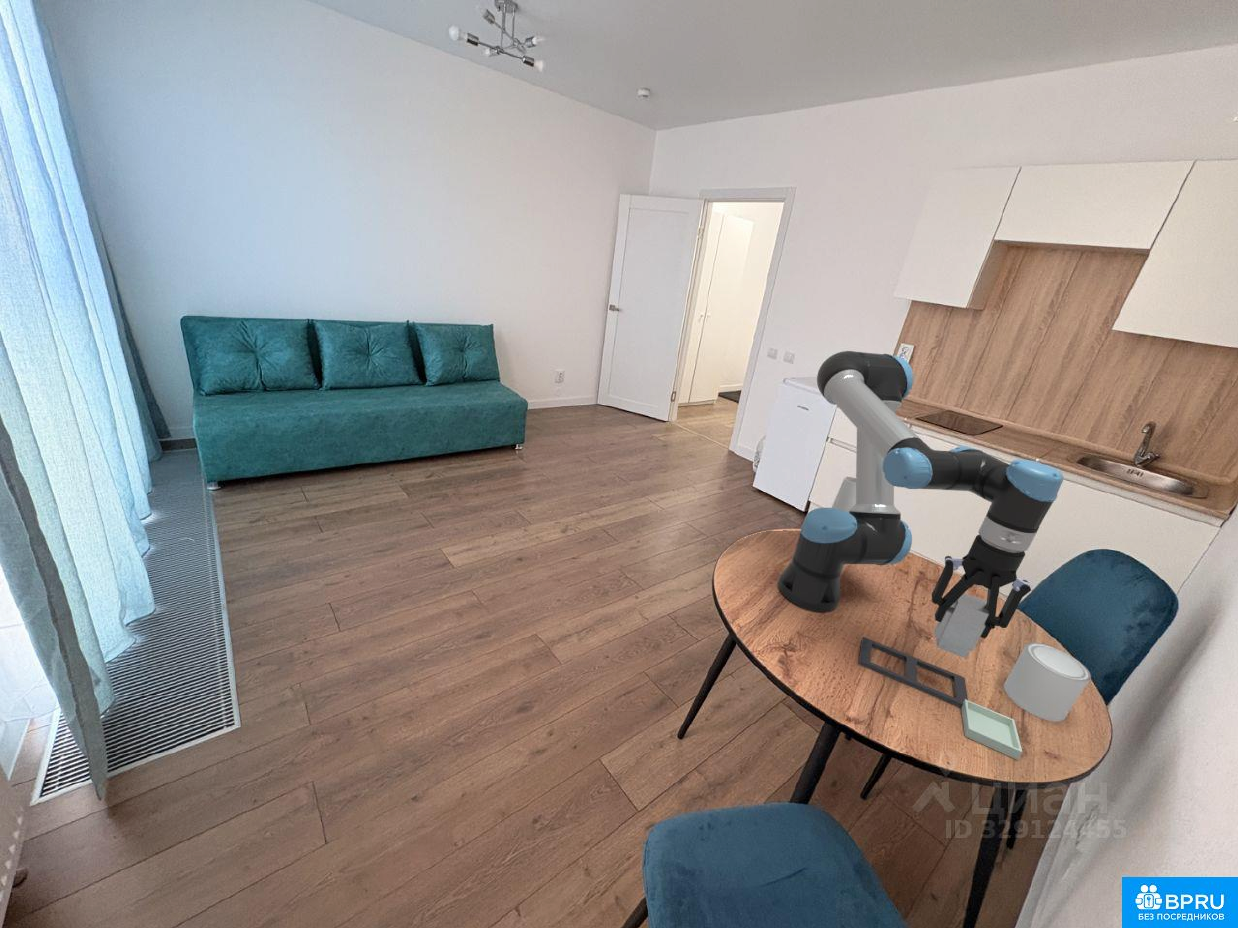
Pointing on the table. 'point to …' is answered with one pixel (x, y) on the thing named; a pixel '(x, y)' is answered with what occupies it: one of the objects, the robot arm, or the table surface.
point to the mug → (1046, 681)
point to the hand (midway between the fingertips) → (952, 640)
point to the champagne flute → (846, 495)
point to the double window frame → (914, 672)
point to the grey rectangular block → (963, 625)
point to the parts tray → (991, 729)
